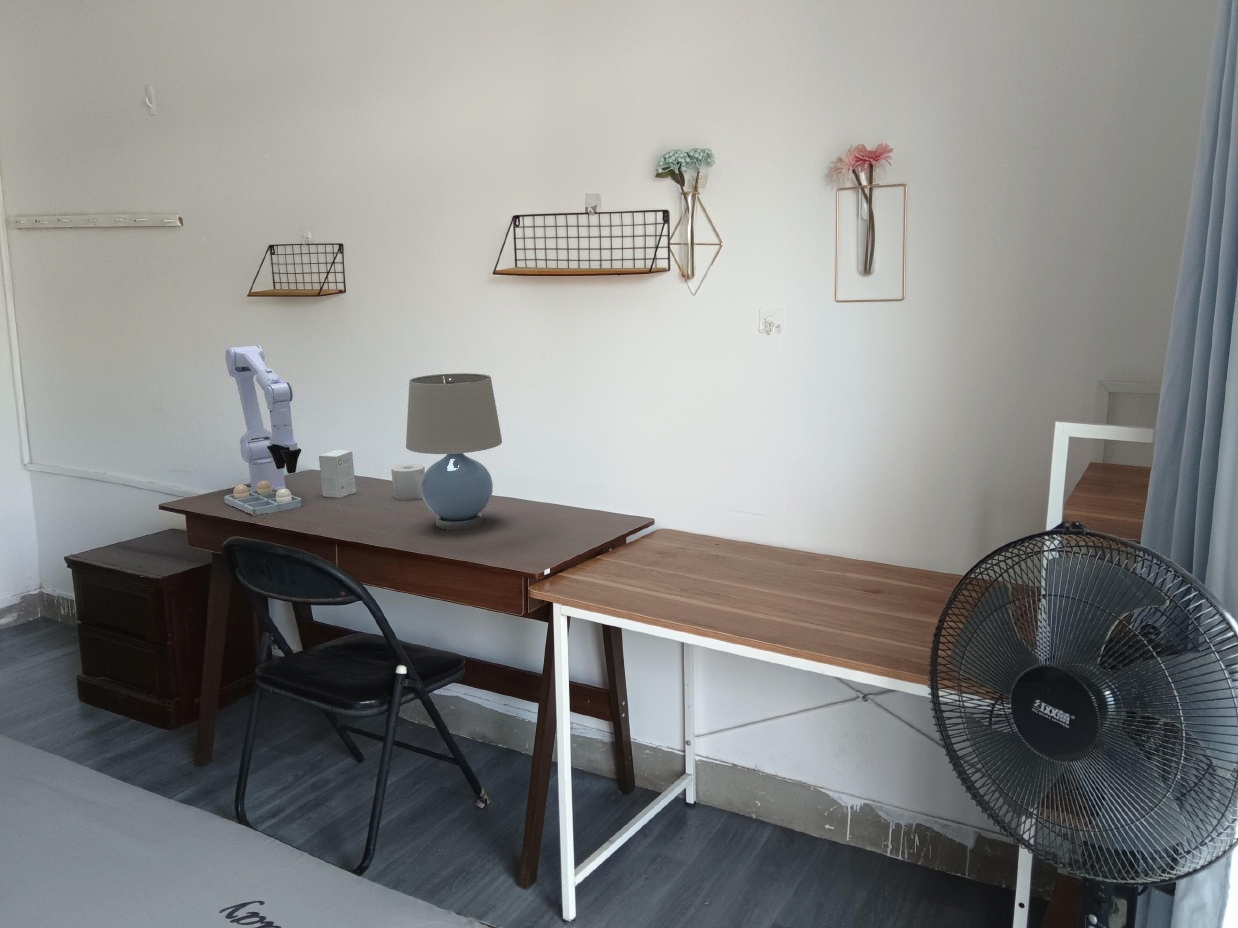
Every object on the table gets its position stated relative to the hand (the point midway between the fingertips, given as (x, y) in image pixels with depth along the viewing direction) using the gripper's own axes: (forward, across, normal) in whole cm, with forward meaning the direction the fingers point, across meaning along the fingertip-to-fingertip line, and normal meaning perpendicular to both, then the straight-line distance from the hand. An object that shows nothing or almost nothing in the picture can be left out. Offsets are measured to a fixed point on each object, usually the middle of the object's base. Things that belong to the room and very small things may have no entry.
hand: (286, 470), depth 271 cm
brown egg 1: (+9, -7, -11) cm, 16 cm away
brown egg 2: (+9, -8, -4) cm, 12 cm away
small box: (+10, +4, +14) cm, 17 cm away
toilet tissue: (+9, +22, +29) cm, 37 cm away
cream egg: (+9, +6, -4) cm, 11 cm away
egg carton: (+9, -1, -7) cm, 12 cm away
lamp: (+9, +56, +22) cm, 61 cm away
